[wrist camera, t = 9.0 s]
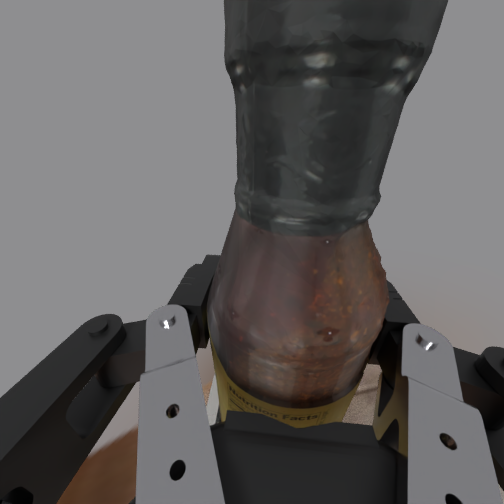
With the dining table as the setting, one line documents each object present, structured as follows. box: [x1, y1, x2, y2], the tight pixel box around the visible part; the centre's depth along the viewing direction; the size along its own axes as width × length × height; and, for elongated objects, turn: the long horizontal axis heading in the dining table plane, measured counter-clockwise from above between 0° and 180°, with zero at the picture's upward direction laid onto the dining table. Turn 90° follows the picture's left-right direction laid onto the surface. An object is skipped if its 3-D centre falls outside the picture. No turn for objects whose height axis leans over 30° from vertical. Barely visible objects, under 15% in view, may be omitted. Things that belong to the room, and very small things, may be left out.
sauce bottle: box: [207, 0, 448, 429], centre depth 10 cm, size 6×6×20 cm
